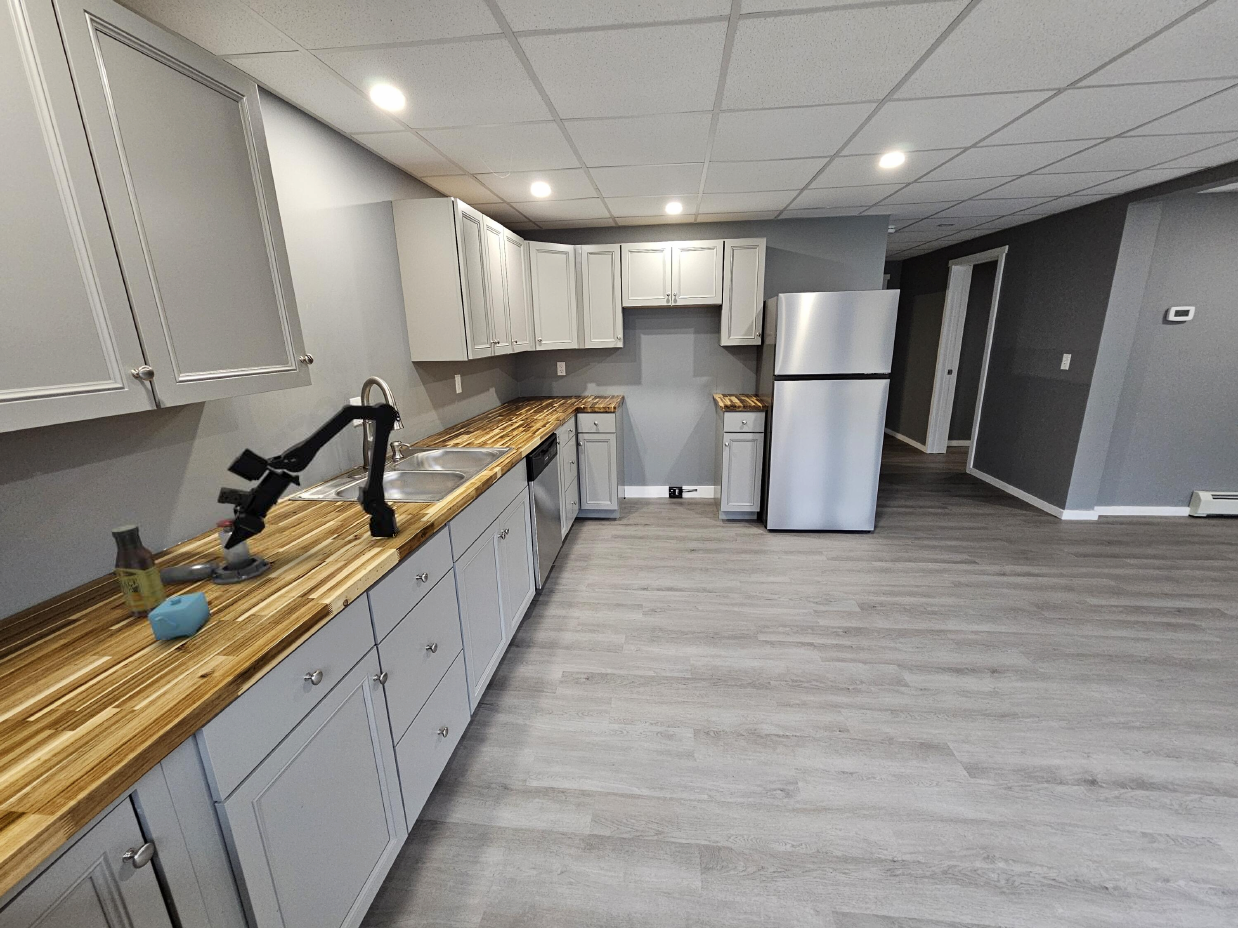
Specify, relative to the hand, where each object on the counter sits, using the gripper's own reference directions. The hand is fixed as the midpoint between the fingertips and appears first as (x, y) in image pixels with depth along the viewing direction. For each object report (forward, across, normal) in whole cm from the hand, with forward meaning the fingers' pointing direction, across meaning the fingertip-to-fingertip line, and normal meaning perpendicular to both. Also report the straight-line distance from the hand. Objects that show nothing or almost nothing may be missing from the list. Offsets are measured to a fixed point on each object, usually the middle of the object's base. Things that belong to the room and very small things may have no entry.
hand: (226, 543), depth 121 cm
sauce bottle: (+17, +9, -4) cm, 20 cm away
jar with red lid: (+5, 0, +7) cm, 8 cm away
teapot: (+12, +26, +1) cm, 29 cm away
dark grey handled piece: (+9, -2, +4) cm, 10 cm away
